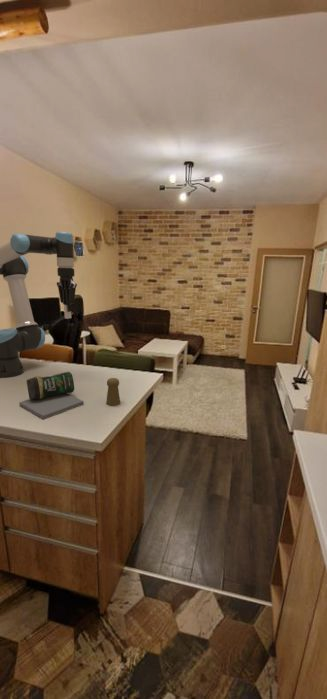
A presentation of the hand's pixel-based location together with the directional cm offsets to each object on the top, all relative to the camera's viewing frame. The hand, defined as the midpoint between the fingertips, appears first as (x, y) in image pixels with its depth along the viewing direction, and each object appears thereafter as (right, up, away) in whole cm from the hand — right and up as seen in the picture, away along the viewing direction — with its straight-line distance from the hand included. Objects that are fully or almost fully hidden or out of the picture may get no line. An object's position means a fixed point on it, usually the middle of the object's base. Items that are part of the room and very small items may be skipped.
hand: (68, 318), depth 148 cm
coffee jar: (+5, -30, -9) cm, 31 cm away
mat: (-1, -38, -19) cm, 43 cm away
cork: (+24, -38, -15) cm, 48 cm away
